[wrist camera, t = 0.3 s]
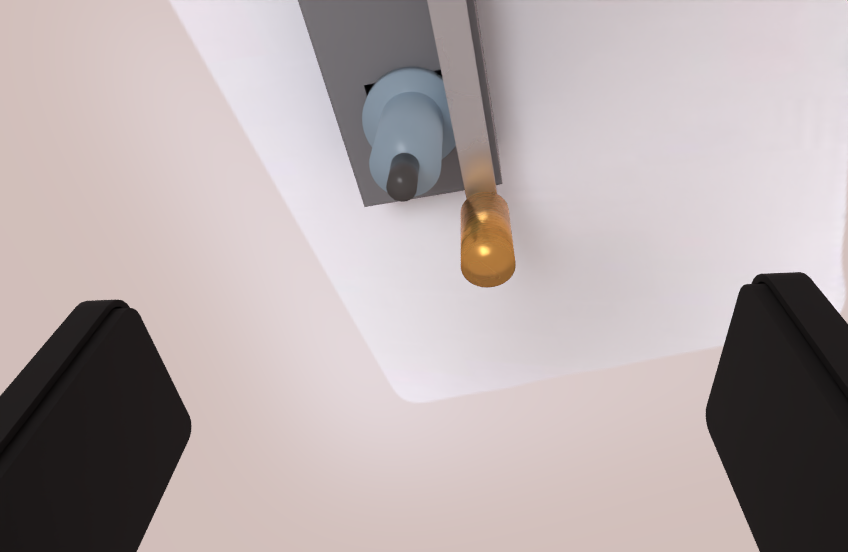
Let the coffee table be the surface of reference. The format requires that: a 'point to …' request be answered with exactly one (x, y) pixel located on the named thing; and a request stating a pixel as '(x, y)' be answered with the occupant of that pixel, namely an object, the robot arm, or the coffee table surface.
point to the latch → (472, 151)
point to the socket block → (383, 73)
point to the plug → (407, 131)
